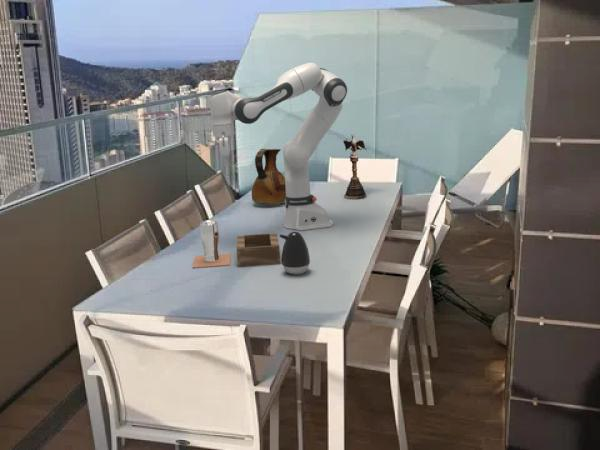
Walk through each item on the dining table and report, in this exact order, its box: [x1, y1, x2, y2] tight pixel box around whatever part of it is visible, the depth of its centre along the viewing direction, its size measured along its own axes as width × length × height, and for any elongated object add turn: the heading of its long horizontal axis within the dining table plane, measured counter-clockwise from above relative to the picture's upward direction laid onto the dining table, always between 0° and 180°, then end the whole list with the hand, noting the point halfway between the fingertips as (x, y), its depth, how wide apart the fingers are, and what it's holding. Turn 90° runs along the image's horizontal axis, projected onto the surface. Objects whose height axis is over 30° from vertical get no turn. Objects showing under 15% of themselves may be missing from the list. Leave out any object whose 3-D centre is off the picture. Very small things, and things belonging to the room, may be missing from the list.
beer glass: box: [199, 219, 220, 262], centre depth 238 cm, size 7×7×15 cm
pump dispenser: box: [279, 230, 311, 276], centre depth 221 cm, size 10×10×15 cm
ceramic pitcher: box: [251, 148, 286, 206], centre depth 326 cm, size 20×20×30 cm
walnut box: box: [236, 232, 281, 268], centre depth 240 cm, size 18×16×7 cm
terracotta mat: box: [192, 253, 231, 269], centre depth 240 cm, size 14×14×1 cm
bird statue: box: [342, 133, 368, 200], centre depth 334 cm, size 17×13×35 cm
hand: (226, 164), depth 256 cm, fingers open, 8 cm apart
